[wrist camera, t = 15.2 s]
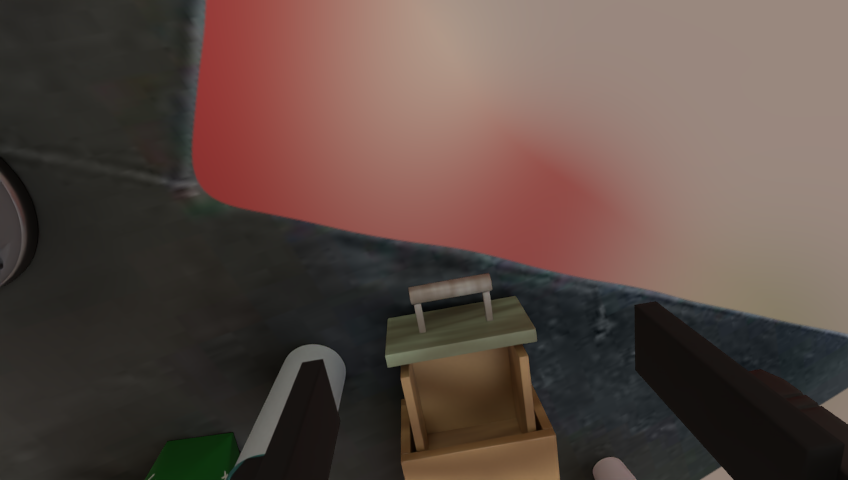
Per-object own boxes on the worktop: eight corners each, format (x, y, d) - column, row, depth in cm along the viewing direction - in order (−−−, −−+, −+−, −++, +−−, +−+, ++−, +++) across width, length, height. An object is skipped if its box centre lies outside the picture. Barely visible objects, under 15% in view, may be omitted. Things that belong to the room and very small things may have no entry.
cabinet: (401, 399, 44) (400, 462, 36) (528, 376, 44) (556, 435, 36) (425, 505, 49) (429, 582, 41) (540, 485, 48) (567, 558, 41)
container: (273, 349, 41) (205, 474, 27) (339, 337, 41) (305, 456, 27) (291, 403, 43) (236, 547, 29) (353, 392, 43) (329, 530, 29)
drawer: (378, 277, 39) (373, 308, 33) (511, 253, 39) (531, 280, 32) (413, 434, 44) (414, 485, 38) (528, 413, 44) (549, 462, 38)
